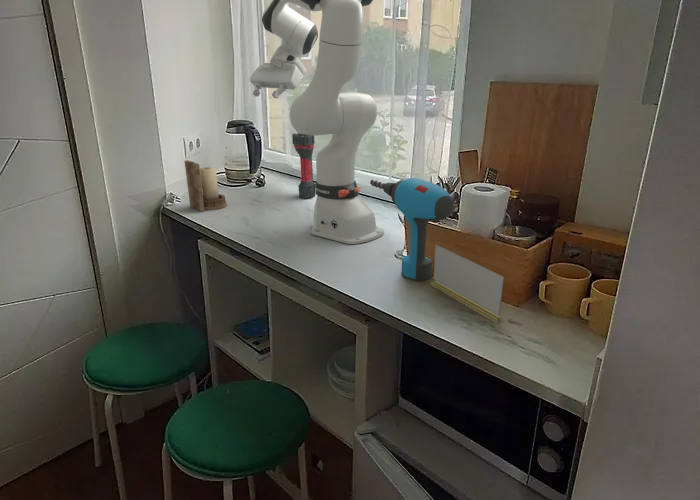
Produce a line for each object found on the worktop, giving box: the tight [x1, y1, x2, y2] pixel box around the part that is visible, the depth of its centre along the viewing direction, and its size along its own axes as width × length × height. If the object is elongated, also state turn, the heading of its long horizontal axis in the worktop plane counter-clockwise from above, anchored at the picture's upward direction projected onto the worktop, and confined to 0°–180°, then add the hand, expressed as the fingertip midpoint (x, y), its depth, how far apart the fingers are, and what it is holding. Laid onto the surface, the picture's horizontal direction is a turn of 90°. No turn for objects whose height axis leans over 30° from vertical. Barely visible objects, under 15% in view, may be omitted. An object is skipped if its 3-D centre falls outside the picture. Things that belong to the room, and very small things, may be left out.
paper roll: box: [200, 166, 220, 201], centre depth 175 cm, size 5×5×12 cm
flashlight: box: [291, 132, 316, 200], centre depth 182 cm, size 8×8×23 cm
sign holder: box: [429, 244, 505, 324], centre depth 110 cm, size 21×2×10 cm, turn 31°
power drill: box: [369, 177, 455, 282], centre depth 123 cm, size 28×9×23 cm, turn 34°
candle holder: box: [184, 159, 228, 213], centre depth 174 cm, size 10×11×16 cm
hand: (264, 96), depth 173 cm, fingers open, 8 cm apart
